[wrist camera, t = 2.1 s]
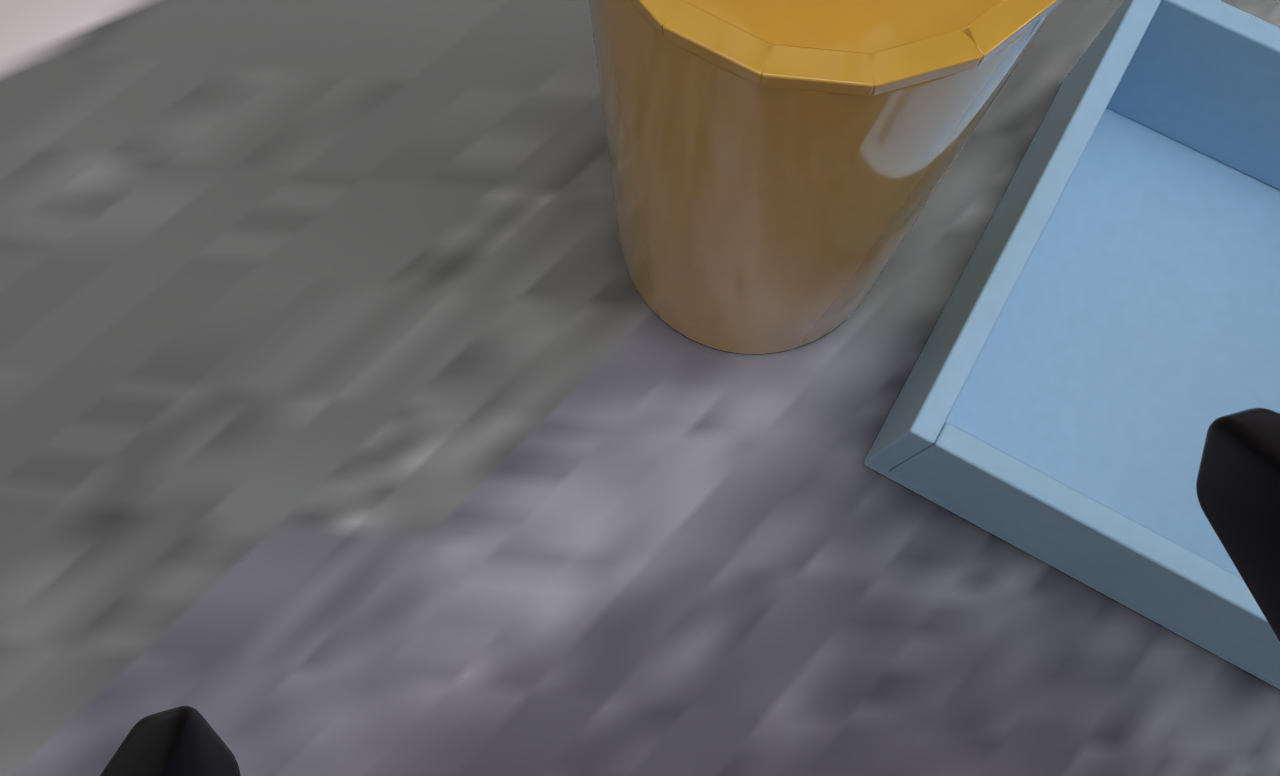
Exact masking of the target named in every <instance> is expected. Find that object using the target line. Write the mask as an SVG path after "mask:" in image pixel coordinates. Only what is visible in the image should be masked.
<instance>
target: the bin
mask: <svg viewBox="0 0 1280 776" xmlns="http://www.w3.org/2000/svg"><path fill="white" fill-rule="evenodd" d="M1251 408H1265V409H1269V410H1272V411H1275V412H1278V413H1280V28H1279V27H1277V26H1275V25H1273V24H1270V23H1268V22H1266V21H1264V20H1262V19H1259V18H1257V17H1255V16H1253V15H1251V14H1249V13H1246V12H1244V11H1242V10H1240V9H1238V8H1235V7H1233V6H1231V5H1229V4H1227V3H1225V2H1222V1H1220V0H1125V1H1124V2H1123V4H1122V5H1121V6H1120V8H1119V9H1118V10H1117V11H1116V13H1115V14H1114V15H1113V17H1112V18H1111V19H1110V21H1109V22H1108V23H1107V25H1106V26H1105V27H1104V29H1103V30H1102V31H1101V33H1100V34H1099V35H1098V36H1097V38H1096V39H1095V40H1094V42H1093V43H1092V44H1091V46H1090V47H1089V48H1088V50H1087V51H1086V52H1085V54H1084V55H1083V56H1082V58H1081V59H1080V60H1079V61H1078V63H1077V64H1076V65H1075V67H1074V68H1073V69H1072V71H1071V73H1069V75H1068V76H1067V77H1066V79H1065V80H1064V81H1063V83H1062V85H1061V87H1060V89H1059V91H1058V92H1057V94H1056V96H1055V98H1054V100H1053V102H1052V104H1051V106H1050V108H1049V110H1048V112H1047V113H1046V115H1045V117H1044V119H1043V121H1042V123H1041V125H1040V127H1039V129H1038V131H1037V133H1036V134H1035V136H1034V138H1033V140H1032V142H1031V144H1030V146H1029V148H1028V150H1027V152H1026V154H1025V155H1024V157H1023V159H1022V161H1021V163H1020V165H1019V167H1018V169H1017V171H1016V173H1015V175H1014V176H1013V178H1012V180H1011V182H1010V184H1009V186H1008V188H1007V190H1006V192H1005V194H1004V195H1003V197H1002V199H1001V201H1000V203H999V205H998V207H997V209H996V211H995V213H994V215H993V216H992V218H991V220H990V222H989V224H988V226H987V228H986V230H985V232H984V234H983V236H982V237H981V239H980V241H979V243H978V245H977V247H976V249H975V251H974V253H973V255H972V257H971V258H970V260H969V262H968V264H967V266H966V268H965V270H964V272H963V274H962V276H961V278H960V279H959V281H958V283H957V285H956V287H955V289H954V291H953V293H952V295H951V297H950V298H949V300H948V302H947V304H946V306H945V308H944V310H943V312H942V314H941V316H940V318H939V319H938V321H937V323H936V325H935V327H934V329H933V331H932V333H931V335H930V337H929V339H928V340H927V342H926V344H925V346H924V348H923V350H922V352H921V354H920V356H919V358H918V360H917V361H916V363H915V365H914V367H913V369H912V371H911V373H910V375H909V377H908V379H907V381H906V382H905V384H904V386H903V388H902V390H901V392H900V394H899V396H898V398H897V400H896V401H895V403H894V405H893V407H892V409H891V411H890V413H889V415H888V417H887V419H886V421H885V422H884V424H883V426H882V428H881V430H880V432H879V434H878V436H877V438H876V440H875V442H874V443H873V445H872V447H871V449H870V451H869V453H868V455H867V457H866V459H865V461H864V465H865V466H867V467H869V468H871V469H873V470H875V471H876V472H878V473H880V474H882V475H884V476H886V477H887V478H889V479H891V480H893V481H895V482H897V483H899V484H900V485H902V486H904V487H906V488H908V489H910V490H912V491H913V492H915V493H917V494H919V495H921V496H923V497H924V498H926V499H928V500H930V501H932V502H934V503H936V504H937V505H939V506H941V507H943V508H945V509H947V510H949V511H950V512H952V513H954V514H956V515H958V516H960V517H961V518H963V519H965V520H967V521H969V522H971V523H973V524H974V525H976V526H978V527H980V528H982V529H984V530H986V531H987V532H989V533H991V534H993V535H995V536H997V537H998V538H1000V539H1002V540H1004V541H1006V542H1008V543H1010V544H1011V545H1013V546H1015V547H1017V548H1019V549H1021V550H1023V551H1024V552H1026V553H1028V554H1030V555H1032V556H1034V557H1035V558H1037V559H1039V560H1041V561H1043V562H1045V563H1047V564H1048V565H1050V566H1052V567H1054V568H1056V569H1058V570H1060V571H1061V572H1063V573H1065V574H1067V575H1069V576H1071V577H1072V578H1074V579H1076V580H1078V581H1080V582H1082V583H1084V584H1085V585H1087V586H1089V587H1091V588H1093V589H1095V590H1097V591H1098V592H1100V593H1102V594H1104V595H1106V596H1108V597H1109V598H1111V599H1113V600H1115V601H1117V602H1119V603H1121V604H1122V605H1124V606H1126V607H1128V608H1130V609H1132V610H1134V611H1135V612H1137V613H1139V614H1141V615H1143V616H1145V617H1146V618H1148V619H1150V620H1152V621H1154V622H1156V623H1158V624H1159V625H1161V626H1163V627H1165V628H1167V629H1169V630H1171V631H1172V632H1174V633H1176V634H1178V635H1180V636H1182V637H1183V638H1185V639H1187V640H1189V641H1191V642H1193V643H1195V644H1196V645H1198V646H1200V647H1202V648H1204V649H1206V650H1208V651H1209V652H1211V653H1213V654H1215V655H1217V656H1219V657H1220V658H1222V659H1224V660H1226V661H1228V662H1230V663H1232V664H1233V665H1235V666H1237V667H1239V668H1241V669H1243V670H1245V671H1246V672H1248V673H1250V674H1252V675H1254V676H1256V677H1258V678H1259V679H1261V680H1263V681H1265V682H1267V683H1269V684H1270V685H1272V686H1274V687H1276V688H1278V689H1280V641H1279V639H1278V638H1277V636H1276V635H1275V633H1274V631H1273V630H1272V628H1271V626H1270V625H1269V623H1268V621H1267V620H1266V618H1265V616H1264V614H1263V613H1262V611H1261V609H1260V608H1259V606H1258V604H1257V603H1256V601H1255V599H1254V597H1253V596H1252V594H1251V592H1250V591H1249V589H1248V587H1247V586H1246V584H1245V582H1244V580H1243V579H1242V577H1241V575H1240V574H1239V572H1238V570H1237V569H1236V567H1235V565H1234V563H1233V562H1232V560H1231V558H1230V557H1229V555H1228V553H1227V552H1226V550H1225V548H1224V546H1223V545H1222V543H1221V541H1220V540H1219V538H1218V536H1217V535H1216V533H1215V531H1214V529H1213V528H1212V526H1211V524H1210V523H1209V521H1208V519H1207V518H1206V516H1205V514H1204V512H1203V510H1202V508H1201V506H1200V503H1199V501H1198V497H1197V491H1196V481H1197V476H1198V471H1199V467H1200V462H1201V458H1202V453H1203V449H1204V444H1205V439H1206V435H1207V431H1208V428H1209V426H1210V425H1211V423H1212V422H1213V421H1214V420H1215V419H1217V418H1219V417H1222V416H1225V415H1229V414H1232V413H1236V412H1240V411H1243V410H1247V409H1251Z"/></svg>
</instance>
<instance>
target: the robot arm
mask: <svg viewBox="0 0 1280 776" xmlns="http://www.w3.org/2000/svg"><path fill="white" fill-rule="evenodd" d="M1196 491H1197V497H1198V501H1199V503H1200V506H1201V508H1202V510H1203V512H1204V514H1205V516H1206V518H1207V519H1208V521H1209V523H1210V524H1211V526H1212V528H1213V529H1214V531H1215V533H1216V535H1217V536H1218V538H1219V540H1220V541H1221V543H1222V545H1223V546H1224V548H1225V550H1226V552H1227V553H1228V555H1229V557H1230V558H1231V560H1232V562H1233V563H1234V565H1235V567H1236V569H1237V570H1238V572H1239V574H1240V575H1241V577H1242V579H1243V580H1244V582H1245V584H1246V586H1247V587H1248V589H1249V591H1250V592H1251V594H1252V596H1253V597H1254V599H1255V601H1256V603H1257V604H1258V606H1259V608H1260V609H1261V611H1262V613H1263V614H1264V616H1265V618H1266V620H1267V621H1268V623H1269V625H1270V626H1271V628H1272V630H1273V631H1274V633H1275V635H1276V636H1277V638H1278V639H1279V641H1280V413H1278V412H1275V411H1272V410H1269V409H1265V408H1251V409H1247V410H1243V411H1240V412H1236V413H1232V414H1229V415H1225V416H1222V417H1219V418H1217V419H1215V420H1214V421H1213V422H1212V423H1211V425H1210V426H1209V428H1208V431H1207V435H1206V439H1205V444H1204V449H1203V453H1202V458H1201V462H1200V467H1199V471H1198V476H1197V481H1196ZM100 776H240V770H239V767H238V763H237V761H236V759H235V757H234V755H233V753H232V752H231V751H230V749H229V748H228V747H227V746H226V744H225V743H224V742H223V741H222V740H221V738H220V737H219V736H218V735H217V733H216V732H215V731H214V730H213V728H212V727H211V726H210V725H209V724H208V722H207V721H206V720H205V719H204V717H203V716H202V715H201V714H200V713H199V712H198V711H197V710H196V709H194V708H192V707H189V706H181V707H177V708H174V709H170V710H166V711H163V712H159V713H156V714H152V715H149V716H147V717H144V718H143V719H141V720H140V721H139V722H138V723H137V724H136V725H135V726H134V727H133V728H132V729H131V731H130V732H129V734H128V735H127V737H126V738H125V740H124V741H123V743H122V744H121V745H120V747H119V748H118V750H117V751H116V753H115V754H114V756H113V757H112V759H111V760H110V762H109V763H108V764H107V766H106V767H105V769H104V770H103V772H102V773H101V775H100Z"/></svg>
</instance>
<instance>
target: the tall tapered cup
mask: <svg viewBox="0 0 1280 776" xmlns="http://www.w3.org/2000/svg"><path fill="white" fill-rule="evenodd" d="M1062 1H1063V0H589V6H590V14H591V22H592V29H593V37H594V45H595V53H596V61H597V69H598V76H599V84H600V92H601V100H602V108H603V115H604V123H605V131H606V139H607V147H608V154H609V162H610V170H611V178H612V186H613V194H614V201H615V209H616V217H617V225H618V233H619V240H620V246H621V251H622V255H623V260H624V263H625V265H626V268H627V271H628V273H629V276H630V278H631V280H632V282H633V284H634V285H635V287H636V289H637V291H638V292H639V294H640V295H641V297H642V298H643V299H644V301H645V302H646V304H647V305H648V306H649V307H650V308H651V309H652V310H653V311H654V312H655V313H656V314H657V315H658V317H660V318H661V319H662V320H663V321H664V322H666V323H667V324H668V325H669V326H671V327H672V328H673V329H675V330H676V331H678V332H680V333H681V334H683V335H684V336H686V337H688V338H690V339H692V340H694V341H696V342H698V343H701V344H703V345H706V346H709V347H712V348H715V349H718V350H722V351H728V352H733V353H740V354H767V353H777V352H781V351H786V350H791V349H794V348H797V347H800V346H803V345H806V344H809V343H811V342H813V341H815V340H817V339H819V338H821V337H823V336H825V335H826V334H828V333H829V332H831V331H832V330H834V329H835V328H836V327H838V326H839V325H840V324H842V323H843V322H844V321H845V320H846V319H847V318H848V317H849V316H850V315H852V314H853V312H854V311H855V310H856V309H857V308H858V307H859V305H860V304H861V303H862V302H863V301H864V299H865V298H866V296H867V294H868V293H869V291H870V290H871V288H872V287H873V285H874V284H875V282H876V281H877V279H878V278H879V276H880V274H881V273H882V271H883V270H884V268H885V267H886V265H887V264H888V262H889V261H890V259H891V258H892V256H893V254H894V253H895V251H896V250H897V248H898V247H899V245H900V244H901V242H902V241H903V239H904V238H905V236H906V234H907V233H908V231H909V230H910V228H911V227H912V225H913V224H914V222H915V221H916V219H917V217H918V216H919V214H920V213H921V211H922V210H923V208H924V207H925V205H926V204H927V202H928V201H929V199H930V197H931V196H932V194H933V193H934V191H935V190H936V188H937V187H938V185H939V184H940V182H941V181H942V179H943V177H944V176H945V174H946V173H947V171H948V170H949V168H950V167H951V165H952V164H953V162H954V161H955V159H956V157H957V156H958V154H959V153H960V151H961V150H962V148H963V147H964V145H965V144H966V142H967V141H968V139H969V137H970V136H971V134H972V133H973V131H974V130H975V128H976V127H977V125H978V124H979V122H980V121H981V119H982V117H983V116H984V114H985V113H986V111H987V110H988V108H989V107H990V105H991V104H992V102H993V100H994V99H995V97H996V96H997V94H998V93H999V91H1000V90H1001V88H1002V87H1003V85H1004V84H1005V82H1006V80H1007V79H1008V77H1009V76H1010V74H1011V73H1012V71H1013V70H1014V68H1015V67H1016V65H1017V64H1018V62H1019V60H1020V59H1021V57H1022V56H1023V54H1024V53H1025V51H1026V50H1027V48H1028V47H1029V45H1030V44H1031V42H1032V40H1033V39H1034V37H1035V36H1036V34H1037V33H1038V31H1039V30H1040V28H1041V27H1042V25H1043V24H1044V22H1045V20H1046V19H1047V17H1048V16H1049V14H1050V13H1051V11H1052V10H1053V9H1055V8H1056V7H1057V6H1059V4H1060V3H1061V2H1062Z"/></svg>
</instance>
